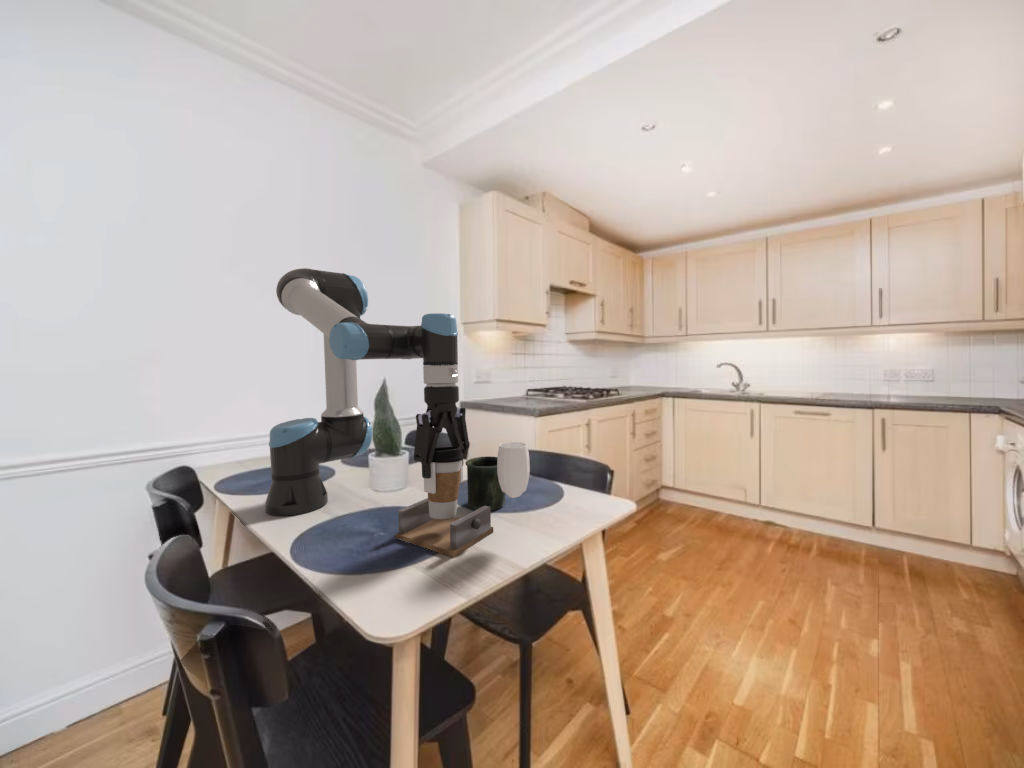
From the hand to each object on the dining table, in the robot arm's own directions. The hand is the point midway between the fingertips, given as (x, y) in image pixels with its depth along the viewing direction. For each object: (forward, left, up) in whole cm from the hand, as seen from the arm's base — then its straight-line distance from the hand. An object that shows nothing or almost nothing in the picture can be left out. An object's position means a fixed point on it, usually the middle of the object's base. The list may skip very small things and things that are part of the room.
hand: (444, 486), depth 92 cm
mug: (-4, +22, -12) cm, 25 cm away
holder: (0, 0, -11) cm, 11 cm away
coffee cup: (0, -1, -6) cm, 6 cm away
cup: (+14, +7, -12) cm, 19 cm away
